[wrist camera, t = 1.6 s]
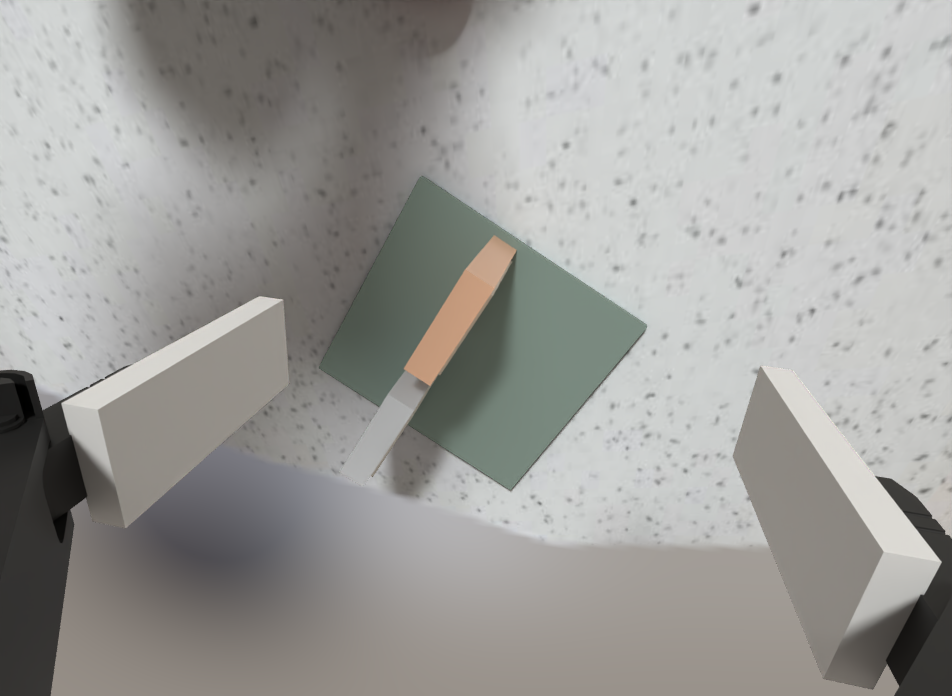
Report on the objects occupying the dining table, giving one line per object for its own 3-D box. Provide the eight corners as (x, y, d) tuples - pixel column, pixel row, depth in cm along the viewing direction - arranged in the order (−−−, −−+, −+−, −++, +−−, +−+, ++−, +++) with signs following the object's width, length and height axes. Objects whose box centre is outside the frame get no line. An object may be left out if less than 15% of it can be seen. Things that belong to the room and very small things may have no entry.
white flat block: (387, 405, 43) (339, 472, 35) (429, 337, 40) (387, 394, 32) (408, 418, 43) (365, 488, 35) (452, 352, 40) (415, 412, 32)
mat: (321, 364, 44) (318, 367, 43) (422, 176, 37) (420, 176, 36) (511, 485, 45) (510, 490, 44) (646, 324, 37) (647, 327, 37)
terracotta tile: (442, 316, 39) (403, 368, 31) (494, 235, 37) (465, 269, 28) (465, 331, 40) (432, 387, 31) (518, 251, 37) (497, 290, 28)
